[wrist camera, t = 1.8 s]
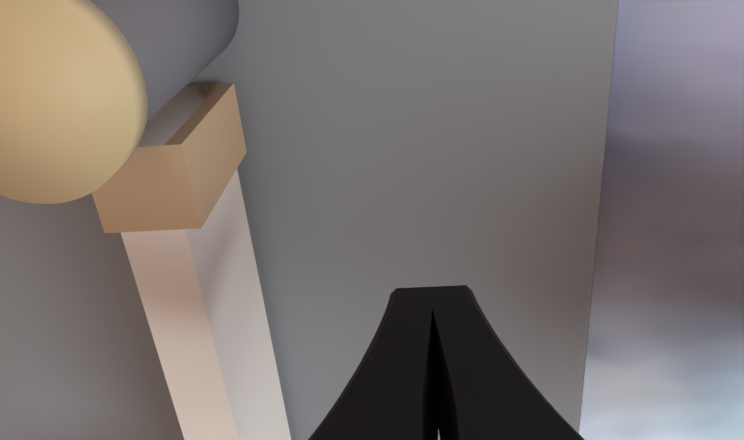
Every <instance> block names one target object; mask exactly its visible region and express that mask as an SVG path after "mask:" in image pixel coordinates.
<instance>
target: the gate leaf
mask: <svg viewBox="0 0 744 440" xmlns="http://www.w3.org/2000/svg"><path fill="white" fill-rule="evenodd" d="M246 153H247V150H246V145H245V139H244V134H243V129H242V124H241V118H240V113H239V108H238V102H237V97H236V92H235V87H234V83H227V84H213V85H199V86H185V87H184V88H183V89H182V90H181V91H179V92H178V93H177V94H176V95H175V96H174V97H173V98H172V99H171V100H170V101H169V102H168V103H167V104H165V105H164V106H163V107H162V108H161V109H160V110H159V111H158V112H157V113H156V114H155V115H154V116H153V117H151V118H150V119H149V120H148V121H147V122H146V126H145V130H144V134H143V136H142V139H141V141H140V143H139V145H138V147H137V148H136V150H135V152H134V153H133V155H132V156H131V157H130V158H129V159H128V161H127V162H126V163H125V164H124V165H123V166H122V167H121V168H120V169H119V170H118V171H117V172H116V173H115V174H114V175H113V176H112V177H111V178H110V179H109V180H108V181H107V182H106V183H104V184H103V185H102V186H101V187H100V188H98V189H97V190H95V191H93V192H92V196H93V199H94V202H95V205H96V208H97V211H98V214H99V217H100V221H101V224H102V227H103V230H104V233H118V232H121V236H122V239H123V242H124V245H125V248H126V252H127V255H128V258H129V261H130V265H131V268H132V271H133V274H134V278H135V281H136V284H137V287H138V291H139V294H140V297H141V300H142V304H143V307H144V310H145V313H146V317H147V320H148V323H149V326H150V330H151V333H152V336H153V339H154V343H155V346H156V349H157V352H158V356H159V359H160V362H161V365H162V369H163V372H164V375H165V378H166V382H167V385H168V388H169V391H170V395H171V398H172V401H173V404H174V408H175V411H176V414H177V417H178V420H179V424H180V427H181V430H182V433H183V437H184V440H291V436H290V431H289V426H288V421H287V416H286V411H285V406H284V401H283V396H282V391H281V386H280V381H279V376H278V371H277V366H276V361H275V356H274V351H273V346H272V341H271V336H270V331H269V326H268V321H267V316H266V311H265V305H264V300H263V295H262V290H261V285H260V280H259V275H258V270H257V265H256V260H255V255H254V250H253V245H252V240H251V235H250V230H249V225H248V220H247V215H246V210H245V205H244V200H243V195H242V190H241V185H240V180H239V175H238V170H237V168H238V166H239V164H240V163H241V161H242V159H243V158H244V156H245V154H246Z"/></svg>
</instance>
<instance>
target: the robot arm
mask: <svg viewBox="0 0 744 440" xmlns="http://www.w3.org/2000/svg"><path fill="white" fill-rule="evenodd" d="M438 429H439V435H440V440H584V439H583V438H582V437H581V436H580V435H579V434H578V433H577V432H576V431H575V430H574V428H573V427H572V426H571V425H570V424H569V423H568V422H567V421H566V420H565V419H564V418H563V417H562V416H561V415H560V414H559V413H558V412H557V411H556V410H555V409H554V407H553V406H552V405H551V404H550V403H549V402H548V401H547V400H546V398H545V397H544V396H543V395H542V394H541V393H540V391H539V390H538V389H537V388H536V387H535V385H534V384H533V383H532V382H531V381H530V379H529V378H528V377H527V376H526V374H525V373H524V372H523V370H522V369H521V368H520V367H519V365H518V364H517V363H516V361H515V360H514V358H513V357H512V356H511V354H510V353H509V352H508V350H507V349H506V347H505V346H504V345H503V343H502V342H501V340H500V339H499V337H498V336H497V334H496V333H495V331H494V330H493V328H492V326H491V325H490V323H489V322H488V320H487V318H486V317H485V315H484V313H483V311H482V310H481V308H480V306H479V304H478V302H477V300H476V298H475V296H474V293H473V291H472V290H471V289H470V288H469V287H468V286H467V285H457V286H435V287H412V288H396V289H395V290H394V291H393V292H392V293H391V294H390V298H389V301H388V304H387V307H386V310H385V313H384V315H383V318H382V320H381V322H380V324H379V327H378V329H377V331H376V333H375V335H374V337H373V339H372V341H371V343H370V345H369V347H368V349H367V351H366V353H365V355H364V356H363V358H362V360H361V362H360V364H359V366H358V367H357V369H356V371H355V372H354V374H353V376H352V377H351V379H350V380H349V382H348V384H347V385H346V387H345V388H344V390H343V392H342V393H341V395H340V396H339V398H338V399H337V401H336V402H335V404H334V405H333V407H332V408H331V410H330V411H329V412H328V414H327V415H326V417H325V418H324V419H323V421H322V422H321V423H320V425H319V426H318V427H317V429H316V430H315V431H314V433H313V434H312V435H311V436H310V438H309V439H308V440H438Z"/></svg>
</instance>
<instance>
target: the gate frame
mask: <svg viewBox="0 0 744 440" xmlns="http://www.w3.org/2000/svg"><path fill="white" fill-rule="evenodd" d="M618 1H619V0H0V440H184V437H183V433H182V430H181V427H180V424H179V420H178V417H177V414H176V411H175V408H174V404H173V401H172V398H171V395H170V391H169V388H168V385H167V382H166V378H165V375H164V372H163V369H162V365H161V362H160V359H159V356H158V352H157V349H156V346H155V343H154V339H153V336H152V333H151V330H150V326H149V323H148V320H147V317H146V313H145V310H144V307H143V304H142V300H141V297H140V294H139V291H138V287H137V284H136V281H135V278H134V274H133V271H132V268H131V265H130V261H129V258H128V255H127V252H126V248H125V245H124V242H123V239H122V236H121V232H118V233H104V230H103V227H102V224H101V221H100V217H99V214H98V211H97V208H96V205H95V202H94V199H93V196H92V192H93V191H95V190H97V189H98V188H100V187H101V186H102V185H103V184H104V183H106V182H107V181H108V180H109V179H110V178H111V177H112V176H113V175H114V174H115V173H116V172H117V171H118V170H119V169H120V168H121V167H122V166H123V165H124V164H125V163H126V162H127V161H128V159H129V158H130V157H131V156H132V155H133V153H134V152H135V150H136V148H137V147H138V145H139V143H140V141H141V139H142V136H143V134H144V130H145V126H146V122H147V121H148V120H149V119H150V118H151V117H153V116H154V115H155V114H156V113H157V112H158V111H159V110H160V109H161V108H162V107H163V106H164V105H165V104H167V103H168V102H169V101H170V100H171V99H172V98H173V97H174V96H175V95H176V94H177V93H178V92H179V91H181V90H182V89H183V88H184V87H185V86H199V85H213V84H227V83H234V87H235V92H236V97H237V102H238V108H239V113H240V118H241V124H242V129H243V134H244V139H245V145H246V150H247V153H246V154H245V156H244V158H243V159H242V161H241V163H240V164H239V166H238V168H237V170H238V175H239V180H240V185H241V190H242V195H243V200H244V205H245V210H246V215H247V220H248V225H249V230H250V235H251V240H252V245H253V250H254V255H255V260H256V265H257V270H258V275H259V280H260V285H261V290H262V295H263V300H264V305H265V311H266V316H267V321H268V326H269V331H270V336H271V341H272V346H273V351H274V356H275V361H276V366H277V371H278V376H279V381H280V386H281V391H282V396H283V401H284V406H285V411H286V416H287V421H288V426H289V431H290V436H291V440H308V439H309V438H310V436H311V435H312V434H313V433H314V431H315V430H316V429H317V427H318V426H319V425H320V423H321V422H322V421H323V419H324V418H325V417H326V415H327V414H328V412H329V411H330V410H331V408H332V407H333V405H334V404H335V402H336V401H337V399H338V398H339V396H340V395H341V393H342V392H343V390H344V388H345V387H346V385H347V384H348V382H349V380H350V379H351V377H352V376H353V374H354V372H355V371H356V369H357V367H358V366H359V364H360V362H361V360H362V358H363V356H364V355H365V353H366V351H367V349H368V347H369V345H370V343H371V341H372V339H373V337H374V335H375V333H376V331H377V329H378V327H379V324H380V322H381V320H382V318H383V315H384V313H385V310H386V307H387V304H388V301H389V298H390V294H391V293H392V292H393V291H394V290H395V289H396V288H412V287H435V286H457V285H467V286H468V287H469V288H470V289H471V290H472V291H473V293H474V296H475V298H476V300H477V302H478V304H479V306H480V308H481V310H482V311H483V313H484V315H485V317H486V318H487V320H488V322H489V323H490V325H491V326H492V328H493V330H494V331H495V333H496V334H497V336H498V337H499V339H500V340H501V342H502V343H503V345H504V346H505V347H506V349H507V350H508V352H509V353H510V354H511V356H512V357H513V358H514V360H515V361H516V363H517V364H518V365H519V367H520V368H521V369H522V370H523V372H524V373H525V374H526V376H527V377H528V378H529V379H530V381H531V382H532V383H533V384H534V385H535V387H536V388H537V389H538V390H539V391H540V393H541V394H542V395H543V396H544V397H545V398H546V400H547V401H548V402H549V403H550V404H551V405H552V406H553V407H554V409H555V410H556V411H557V412H558V413H559V414H560V415H561V416H562V417H563V418H564V419H565V420H566V421H567V422H568V423H569V424H570V425H571V426H572V427H573V428H574V430H575V431H576V432H577V433H578V434H579V425H580V415H581V404H582V393H583V382H584V371H585V360H586V349H587V338H588V327H589V317H590V306H591V295H592V284H593V273H594V262H595V251H596V240H597V229H598V219H599V208H600V197H601V186H602V175H603V164H604V153H605V142H606V131H607V121H608V110H609V99H610V88H611V77H612V66H613V55H614V44H615V33H616V23H617V12H618ZM438 440H440V435H439V429H438Z"/></svg>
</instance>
